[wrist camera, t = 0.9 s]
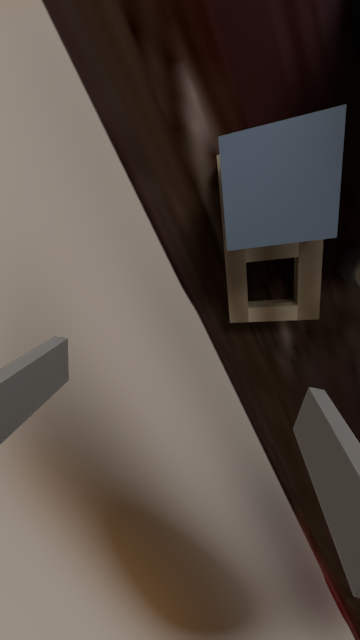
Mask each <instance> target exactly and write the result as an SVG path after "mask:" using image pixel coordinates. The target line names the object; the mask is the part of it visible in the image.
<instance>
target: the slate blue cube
mask: <svg viewBox="0 0 360 640" xmlns="http://www.w3.org/2000/svg"><path fill="white" fill-rule="evenodd" d="M346 105H347V104H345V105H341V106H337V107H333V108H329V109H325V110H321V111H317V112H313V113H309V114H305V115H301V116H298V117H294V118H290V119H286V120H282V121H278V122H274V123H270V124H266V125H262V126H258V127H254V128H250V129H246V130H243V131H239V132H235V133H231V134H227V135H223V136H219V137H218V140H219V153H220V166H221V180H222V193H223V206H224V219H225V232H226V245H227V251H231V250H239V249H247V248H256V247H264V246H272V245H280V244H288V243H297V242H305V241H313V240H321V239H330V238H337V229H338V215H339V201H340V188H341V174H342V160H343V146H344V132H345V118H346Z"/></svg>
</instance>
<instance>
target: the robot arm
mask: <svg viewBox="0 0 360 640" xmlns="http://www.w3.org/2000/svg"><path fill="white" fill-rule="evenodd" d="M351 19H352V28H353V34H354V38H355V41H356V44H357V47H358V49H359V51H360V0H352V5H351ZM68 379H69V373H68V339H67V338H62V337H57V336H54V337H53V338H51V339H49V340H48V341H46V342H44V343H43V344H41V345H39V346H38V347H36V348H34V349H33V350H31V351H29V352H28V353H26V354H24V355H23V356H21V357H19V358H18V359H16V360H14V361H13V362H11V363H9V364H8V365H6V366H5V367H3V368H1V369H0V444H1V443H2V442H3V441H4V440H5V439H7V438H8V437H9V436H10V435H11V434H12V433H13V432H14V431H15V430H16V429H17V428H18V427H19V426H20V425H21V424H22V423H23V422H25V421H26V420H27V419H28V418H29V417H30V416H31V415H32V414H33V413H34V412H35V411H36V410H37V409H38V408H39V407H41V406H42V405H43V404H44V403H45V402H46V401H47V400H48V399H49V398H50V397H51V396H52V395H53V394H54V393H55V392H56V391H58V389H60V388H61V387H62V386H63V385H64V384H65V383H66V382H67V381H68ZM293 431H294V434H295V437H296V439H297V442H298V445H299V448H300V450H301V453H302V456H303V459H304V461H305V464H306V467H307V470H308V472H309V475H310V478H311V481H312V483H313V486H314V489H315V492H316V494H317V497H318V500H319V503H320V505H321V508H322V511H323V514H324V516H325V519H326V522H327V525H328V527H329V530H330V533H331V536H332V538H333V541H334V544H335V547H336V550H337V552H338V555H339V558H340V561H341V563H342V566H343V569H344V572H345V574H346V577H347V580H348V583H349V585H350V588H351V591H352V594H353V596H354V597H358V598H360V443H359V442H358V440H357V439H356V437H355V436H354V434H353V433H352V431H351V430H350V428H349V427H348V425H347V424H346V422H345V421H344V419H343V418H342V416H341V414H340V413H339V411H338V410H337V408H336V407H335V405H334V404H333V402H332V401H331V399H330V398H329V396H328V395H327V393H326V392H325V390H322V389H317V388H312V387H308V390H307V393H306V395H305V398H304V401H303V403H302V406H301V409H300V411H299V414H298V417H297V419H296V422H295V425H294V428H293Z"/></svg>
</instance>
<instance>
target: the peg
mask: <svg viewBox="0 0 360 640" xmlns="http://www.w3.org/2000/svg"><path fill="white" fill-rule="evenodd" d="M336 271H337V273H338V275H339V276H340V277H341V278H343V279H344V280H346V281H347V282H349V283H351V284H352V285H354V286H355V287H357V288H358V289H360V245H355V246H352V247H349V248H347V249H346V250H344V251H343V252H342V253H341V254H340V256H339V257H338V259H337V262H336Z"/></svg>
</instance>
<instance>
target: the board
mask: <svg viewBox="0 0 360 640" xmlns="http://www.w3.org/2000/svg"><path fill="white" fill-rule="evenodd" d="M217 166H218V178H219V191H220V203H221V216H222V228H223V241H224V253H225V266H226V278H227V291H228V303H229V316H230V323H239V322H265V321H290V320H315V319H319V312H320V293H321V275H322V257H323V239H321V240H313V241H305V242H297V243H288V244H280V245H272V246H264V247H256V248H247V249H239V250H231V251H227V245H226V232H225V219H224V206H223V193H222V180H221V166H220V155H217ZM293 257H294V298H293V299H277V300H261V301H248V289H247V270H246V262H255V261H265V260H274V259H283V258H293Z"/></svg>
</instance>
